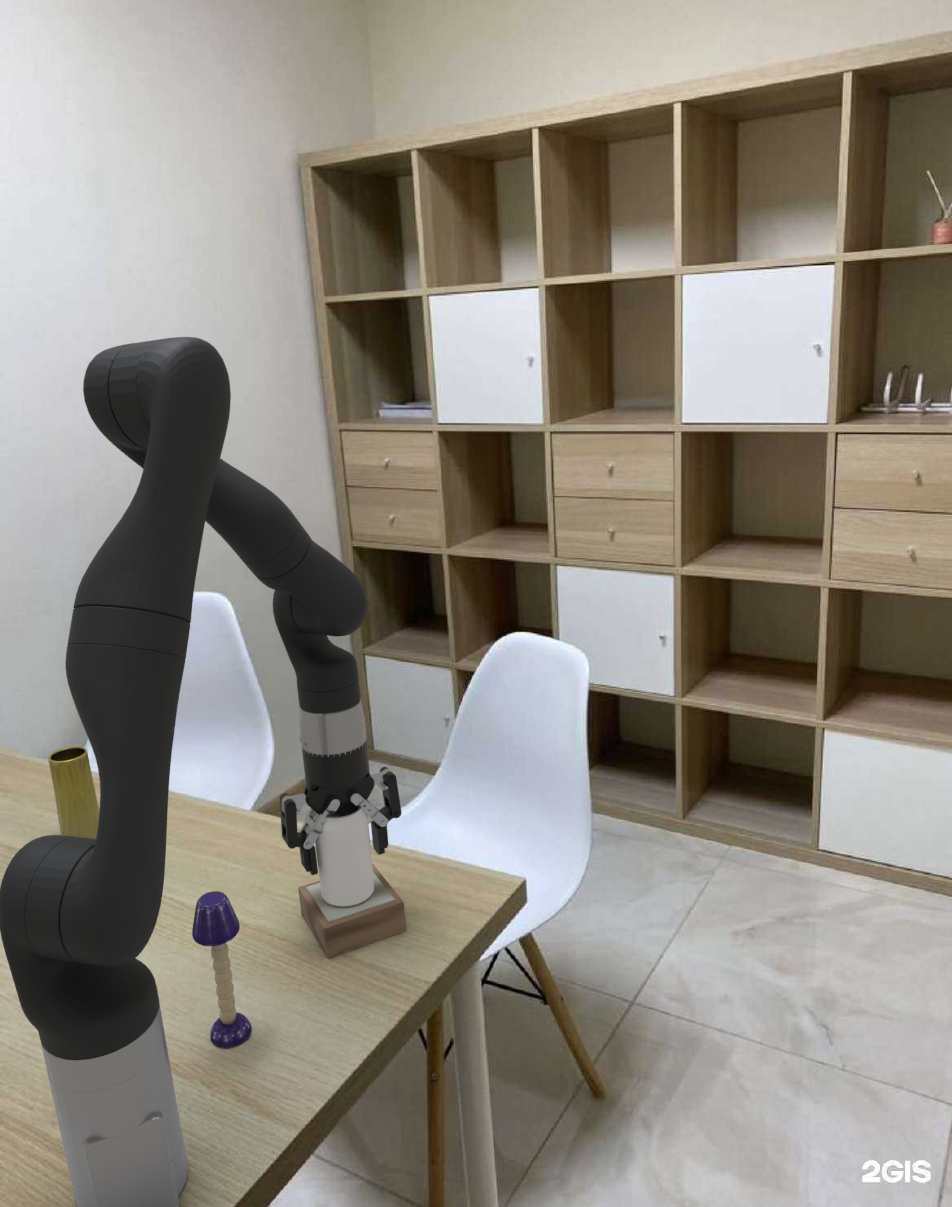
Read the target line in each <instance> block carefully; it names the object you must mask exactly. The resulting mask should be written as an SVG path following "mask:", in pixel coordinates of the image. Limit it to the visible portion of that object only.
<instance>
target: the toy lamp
mask: <svg viewBox="0 0 952 1207" xmlns="http://www.w3.org/2000/svg"><path fill="white" fill-rule="evenodd" d="M193 916H194V917H193V922H192V929H191V936H192V939H193V940H194V943H196V944H198V945H200V946H203V947H211V949H210V952H211V953H210V956H211V958H212V959H213V961H212V967H213V971H214V981H215V984H216V987H215V988H216V989H215V992H216V995H217V997H218V998H217V1006H218V1008H219V1014H218V1015H219V1016H218V1018H217V1019H216V1020H215V1022H214V1023H213V1025H212V1027H211V1029H210V1036H209V1038H210V1041H211V1043H212V1044H213V1045H214V1046H215V1047H217V1048H221V1049H222V1048H223V1049H229V1048H235V1047H237V1046H240V1045H241V1044H243V1043H245V1042H246V1041H247V1040H248V1039H249V1038H250V1036H251V1034H252V1031H253V1030H252V1028H253V1027H252V1024H251V1022H250V1020H249V1019H248V1017H247V1016H245V1015H244V1014H243V1013H240V1012H237V1009H236V1006H235V1004H236V998H235V994H234V983H233V981H232V980H233V972H232V970H231V960H230V957H229V953H230V952H229V946H228V944H227V943H228V942H230V941H232V940H234V938H235V937H236V936H237V935H238V933H239V931H240V922H239V919H238V916H237V914H236V911H235V910H234V907H233V906H232V903H231V902H230V899H229V898H228V895H227V894H225V893H224V892H222V891H219V890H215V891H214V890H213V891H209V892H208V891H207V892H205V893H204V894H202V895H200V896H199V898H198V899H197V901H196V905H195V911H194V914H193Z"/></svg>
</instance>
